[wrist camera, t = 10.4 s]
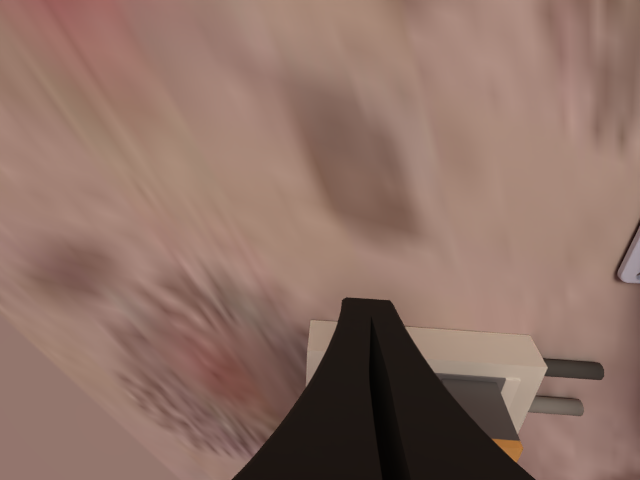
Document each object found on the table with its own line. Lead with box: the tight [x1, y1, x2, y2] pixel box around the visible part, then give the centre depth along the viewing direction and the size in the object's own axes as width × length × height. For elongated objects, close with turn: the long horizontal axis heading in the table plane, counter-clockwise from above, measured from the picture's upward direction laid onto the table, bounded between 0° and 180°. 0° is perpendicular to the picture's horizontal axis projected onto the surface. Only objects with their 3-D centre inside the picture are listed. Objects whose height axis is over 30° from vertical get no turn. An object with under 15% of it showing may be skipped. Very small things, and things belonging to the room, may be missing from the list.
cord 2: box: [528, 396, 584, 416], centre depth 26 cm, size 5×1×1 cm, turn 87°
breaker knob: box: [441, 379, 523, 463], centre depth 22 cm, size 3×4×4 cm, turn 178°
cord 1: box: [543, 359, 604, 380], centre depth 25 cm, size 5×1×1 cm, turn 87°
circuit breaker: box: [306, 320, 548, 434], centre depth 25 cm, size 13×8×3 cm, turn 87°
